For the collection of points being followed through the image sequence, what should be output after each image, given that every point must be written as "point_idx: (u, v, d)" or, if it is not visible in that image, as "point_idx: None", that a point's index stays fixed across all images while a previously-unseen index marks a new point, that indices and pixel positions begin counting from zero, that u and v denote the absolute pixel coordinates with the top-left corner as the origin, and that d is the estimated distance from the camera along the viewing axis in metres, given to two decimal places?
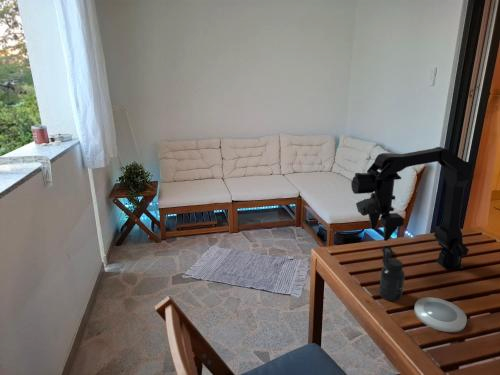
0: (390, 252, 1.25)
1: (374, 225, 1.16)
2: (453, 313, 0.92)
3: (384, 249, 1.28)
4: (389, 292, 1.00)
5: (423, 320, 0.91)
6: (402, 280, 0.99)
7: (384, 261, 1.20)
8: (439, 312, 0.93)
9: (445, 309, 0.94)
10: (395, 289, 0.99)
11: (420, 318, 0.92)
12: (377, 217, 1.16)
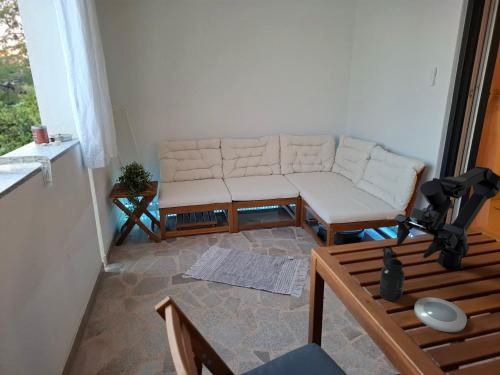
0: (390, 252, 1.25)
1: (400, 242, 1.07)
2: (453, 313, 0.92)
3: (384, 249, 1.27)
4: (389, 292, 1.00)
5: (423, 320, 0.91)
6: (402, 280, 0.99)
7: (384, 261, 1.20)
8: (439, 312, 0.93)
9: (445, 309, 0.94)
10: (395, 289, 0.99)
11: (420, 318, 0.92)
12: (405, 236, 1.08)
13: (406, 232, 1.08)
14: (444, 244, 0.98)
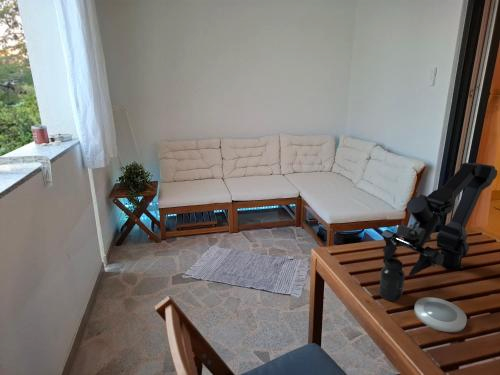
0: None
1: None
2: (453, 313, 0.92)
3: (385, 249, 1.27)
4: (389, 292, 1.00)
5: (423, 320, 0.91)
6: (402, 280, 0.99)
7: None
8: (439, 312, 0.93)
9: (445, 309, 0.94)
10: (395, 289, 0.99)
11: (420, 318, 0.92)
12: (392, 253, 1.07)
13: (393, 248, 1.07)
14: (430, 262, 0.96)
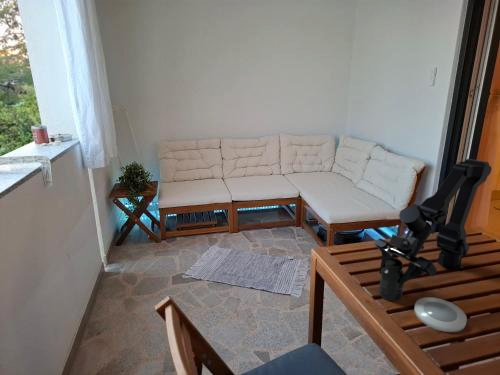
0: None
1: None
2: (453, 313, 0.92)
3: None
4: (389, 292, 1.00)
5: (423, 320, 0.91)
6: None
7: None
8: (439, 312, 0.93)
9: (445, 309, 0.94)
10: (395, 289, 0.99)
11: (420, 318, 0.92)
12: None
13: None
14: (419, 271, 0.96)
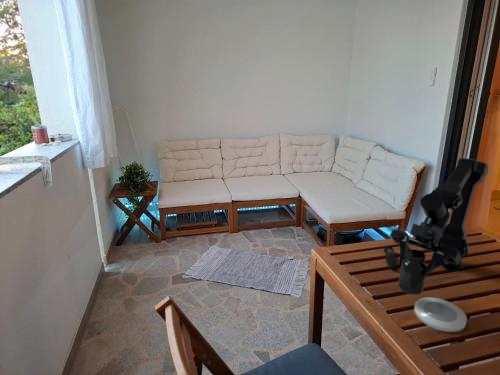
0: (393, 252, 1.25)
1: None
2: (453, 313, 0.92)
3: (386, 249, 1.27)
4: (412, 285, 0.93)
5: (423, 320, 0.91)
6: None
7: (388, 262, 1.19)
8: (439, 312, 0.93)
9: (445, 309, 0.94)
10: (419, 282, 0.93)
11: (420, 318, 0.92)
12: None
13: (407, 250, 0.99)
14: (444, 260, 0.91)
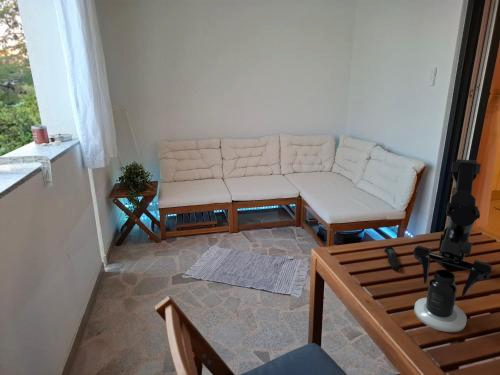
0: (394, 253, 1.25)
1: (426, 279, 0.93)
2: (453, 313, 0.92)
3: (387, 250, 1.27)
4: (444, 308, 0.89)
5: (423, 320, 0.91)
6: (456, 292, 0.89)
7: (391, 262, 1.19)
8: None
9: None
10: (451, 303, 0.89)
11: (420, 318, 0.92)
12: (428, 271, 0.95)
13: (428, 266, 0.95)
14: (480, 277, 0.87)
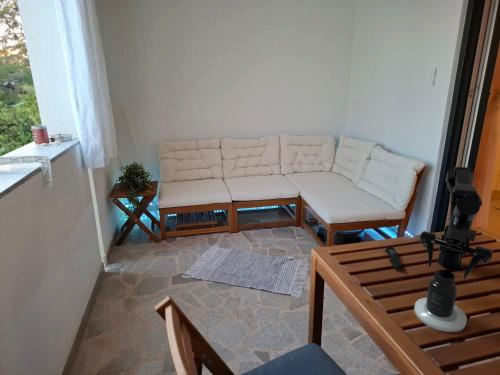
0: (395, 253, 1.24)
1: None
2: (453, 313, 0.92)
3: (388, 250, 1.27)
4: (444, 308, 0.89)
5: (423, 320, 0.91)
6: (456, 292, 0.89)
7: (393, 263, 1.19)
8: None
9: None
10: (451, 303, 0.89)
11: (420, 318, 0.92)
12: (432, 255, 1.02)
13: None
14: (481, 261, 0.95)
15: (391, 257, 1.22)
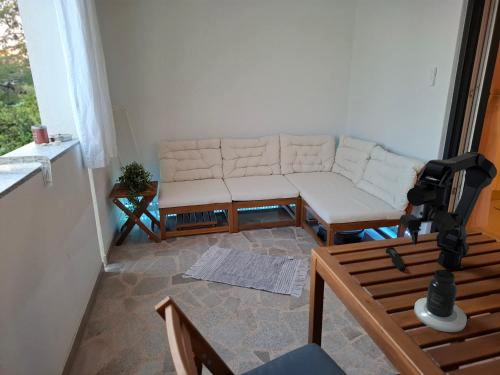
0: (396, 253, 1.24)
1: None
2: (453, 313, 0.92)
3: (389, 250, 1.26)
4: (444, 308, 0.89)
5: (423, 320, 0.91)
6: None
7: (396, 263, 1.19)
8: None
9: None
10: (451, 303, 0.89)
11: (420, 318, 0.92)
12: None
13: None
14: None
15: (393, 258, 1.22)
